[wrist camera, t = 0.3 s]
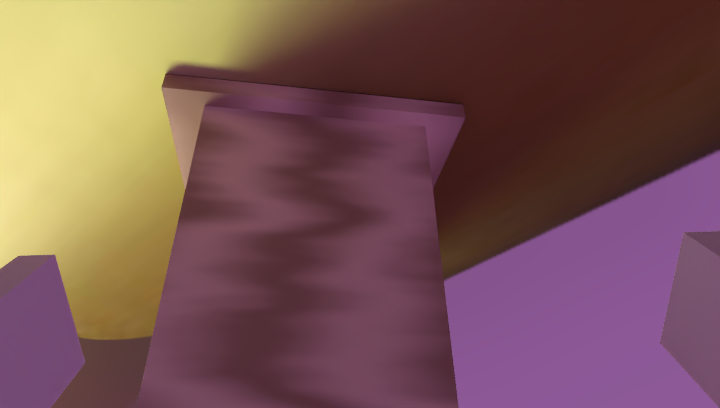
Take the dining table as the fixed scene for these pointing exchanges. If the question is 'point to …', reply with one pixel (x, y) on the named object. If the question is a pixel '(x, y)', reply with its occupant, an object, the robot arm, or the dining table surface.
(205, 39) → the dining table surface
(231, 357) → the birch stand
